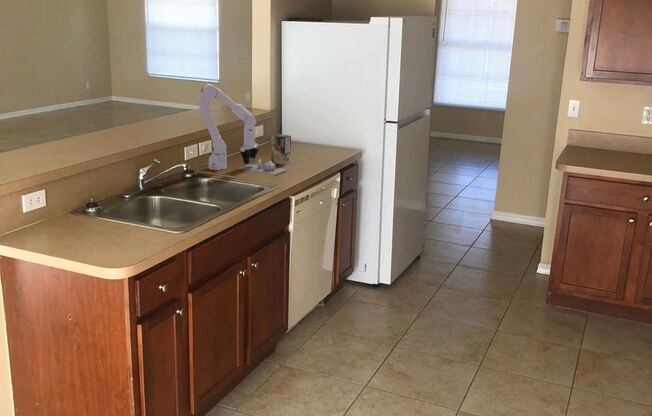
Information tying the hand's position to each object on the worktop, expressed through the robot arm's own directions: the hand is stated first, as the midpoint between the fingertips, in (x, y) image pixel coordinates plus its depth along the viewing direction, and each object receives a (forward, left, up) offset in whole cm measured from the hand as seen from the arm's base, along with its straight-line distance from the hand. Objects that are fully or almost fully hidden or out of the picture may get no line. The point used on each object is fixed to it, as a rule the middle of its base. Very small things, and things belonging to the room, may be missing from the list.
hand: (249, 162), depth 352 cm
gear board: (0, -8, -3) cm, 9 cm away
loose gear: (0, 0, -1) cm, 0 cm away
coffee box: (+18, -9, -4) cm, 21 cm away
